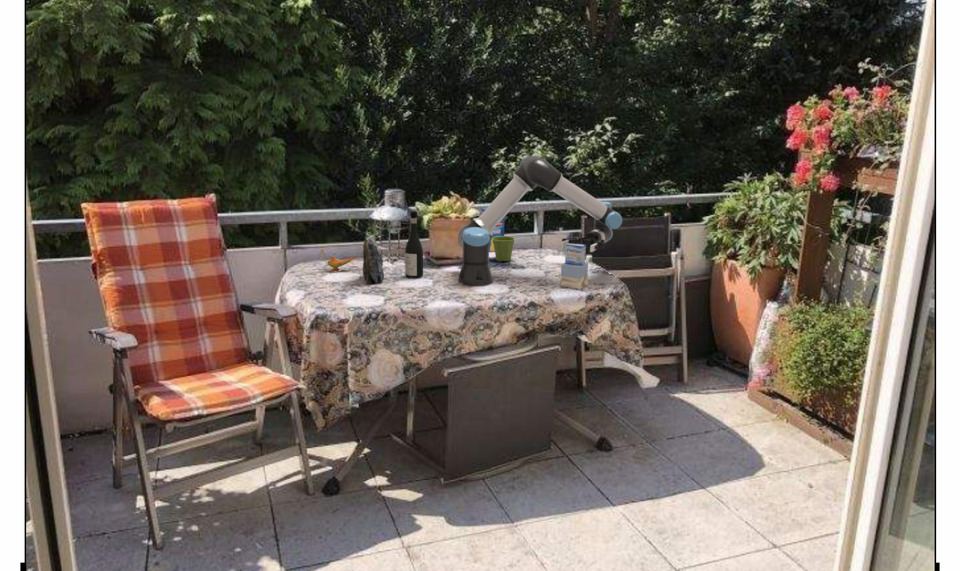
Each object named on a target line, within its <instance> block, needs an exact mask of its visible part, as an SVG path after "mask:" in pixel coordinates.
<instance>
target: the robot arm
mask: <svg viewBox="0 0 960 571" xmlns="http://www.w3.org/2000/svg"><path fill="white" fill-rule="evenodd" d="M512 176H513V177H512V180H510V182H509V183H508V184H507V185H506V186H505V187H504V188H503V190H502V191H501V192H500V193H499V194H498V195H497V196H496V198H494V199H493V201H492V202H491V203H490V204H489V205H488V206H487V207H486V208H487V209H486V210H485V211H484V212H483V213H482V214H481V215H480V214H479V215H480V216H478V217H475V218H472V219H471V220H470V221H469V222H468V224H465V225H464V226H463V227H461V228H460V229H459V231H458V234H457V242H458V244H459V246H460V248H461V249H462V265H461V268H460V272H459V275H458V283H460V284H462V285H465V286H474V287H475V286H485V285H489V284H492V283H493V275H492V270H491V267H490V265H489V264H490V262H489V261H490V252H489V239H490V237H491V236H492V230H493V229H494V228H495V227H496V225H497V224H498V223H499V222H500V221H501V220H502V219H503V218H504V217H506V215H508V213H510V211H511V210H512V209H513V207H515V206H516V204H517V203H518V202H519V201H520V200H521V199H522V198H523V197H524V196H525V194H526V193H527V192H532V191H533V190H534V189H536V188H537V186H538V187H540V188H543V189H544V190H546V191H547V192H550V193H551V192H553V193H555V194H557V195H559V196H560V197H562V198H563V199H564V200H566V201H568V203H570V204H572V205H574V206H575V207H577V208H578V209H579V210H581V211H583V212H585V213H586V214H588V215H589V216H591V217H592V218H593V219H594V222H593V223H594V225H593V226H594V227H593V230H591V231H589V232H587V233H586V234H585V235H584V236H583V237H581V236H580V237H579V236H578V235H577V236H574V237H573V236H572V237H566V238H561V243H560V249H561V250H562V249H564V248H565V249H566V245H567V244H568V243H572V244H582V245H586V248H589V253H593V252H595V251H596V250H605V249H606V243H608V242H609V241H610V240H611V239H612V238H613V234H614V233H613V230H616V229H618V228H619V227H621V226H622V224H623V217H622V216H621V214H620V213H619V212H617V211H616V210H614V209H613V207H612V203H611V202H608V201H600V200H599V199H597V198H596V197H594V196H592V195H591V194H590V193H588V192H587V191H585V190H583V189H582V188H580V187H579V186H578V185H576V184H575V183H574V182H573V183H572V181H570V180H569V179H567V178H565V177H564V176H563V172H560V171H559V170H558V169H556V168H555V167H554V166H553V165H552V164H551V163H550V162H548V161H547V160H546V159H544V158H542V157H540V156H538V155H528V156H526V157H524V158H523V159H522V160H521V161H520V163H519V164H518V167H517V169H516V170H514V172H513V175H512Z"/></svg>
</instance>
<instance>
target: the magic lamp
mask: <svg viewBox="0 0 960 571" xmlns="http://www.w3.org/2000/svg"><path fill="white" fill-rule="evenodd" d="M321 254H323V257H324V258H325V259H323V258H321ZM318 257H319V259H320V260H322V261H324V262H325V263H326V264H327V266H329V267H331V269H330V270H331V271H339V270H341V269H340V267H343V266H345V265H346V264H349V263H350V262H351V261H353V260H354V259H356V258H358V257H359V256H358V255H357V256H351V257H350V258H347V259H342V260H341V259H337V258H336V257H335V255H332V256H331V257H330V258H327V257H326V254H325V252H324V248H322V247H321V248H320V254H319V256H318ZM326 260H327V261H326ZM331 271H330V272H331ZM339 272H340V271H339Z"/></svg>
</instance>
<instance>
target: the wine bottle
mask: <svg viewBox="0 0 960 571" xmlns="http://www.w3.org/2000/svg"><path fill="white" fill-rule="evenodd" d="M409 215H410V234H409V237H408V241H407V242H406V246H405V250H404V264H405V265H404V268H405V269H404V273H405V276H406V277H407V278H408V279H409V278H410V279H419V278H422V277H423V276H424V250H423V246H422V243H421V240H420V238H419V235H418V221H417V220H418V218H417V217H418V211H417V210H411V211H410V212H409Z"/></svg>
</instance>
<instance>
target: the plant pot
mask: <svg viewBox="0 0 960 571" xmlns="http://www.w3.org/2000/svg"><path fill="white" fill-rule="evenodd" d="M492 240H493V244H494V249H495V252H494V254H495V260H496V261H497V262H502V261H507V262H510V261H511V259H512V255H513V254H512V253H513V246H514V243H515V241H516V237H514V236H509V235H508V236H507V235H506V236H505V235H504V236H498V237H493V238H492Z"/></svg>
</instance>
